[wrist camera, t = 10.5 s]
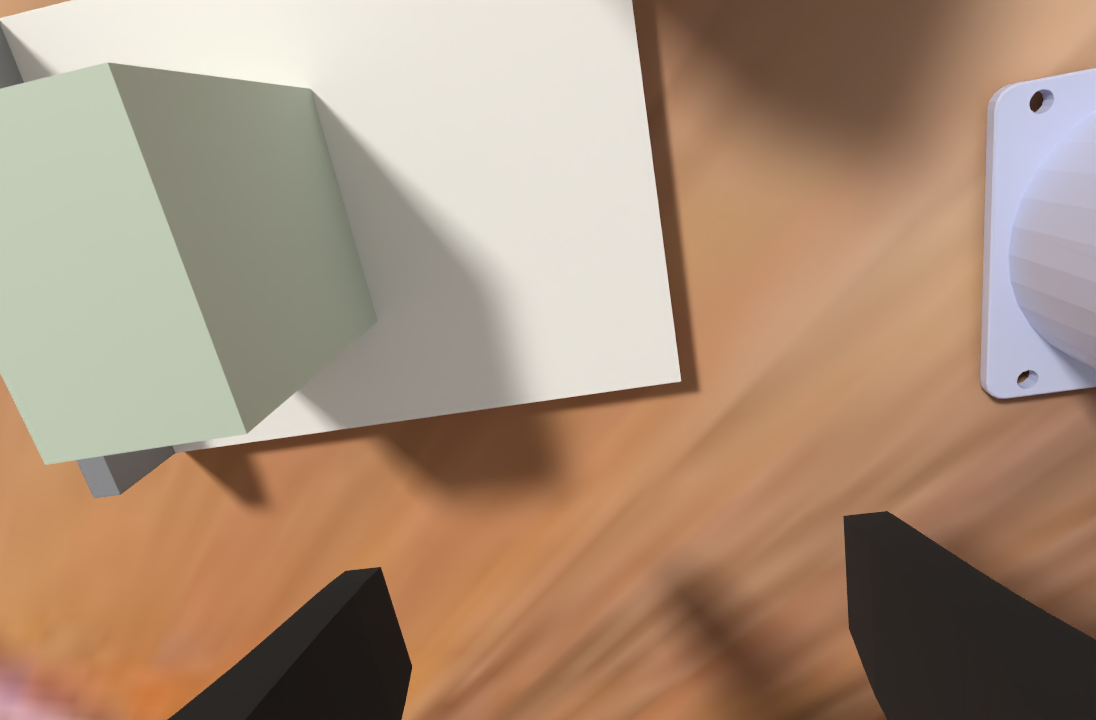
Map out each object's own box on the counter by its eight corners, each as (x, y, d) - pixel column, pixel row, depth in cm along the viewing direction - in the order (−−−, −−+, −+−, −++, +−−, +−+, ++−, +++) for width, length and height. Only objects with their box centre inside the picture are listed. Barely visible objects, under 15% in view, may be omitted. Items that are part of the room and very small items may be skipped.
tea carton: (310, 88, 16) (107, 62, 9) (377, 321, 18) (246, 433, 11) (147, 125, 17) (-149, 125, 10) (228, 347, 19) (24, 467, 12)
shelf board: (613, -120, 15) (616, -186, 12) (677, 368, 19) (692, 418, 16) (-9, 34, 17) (-149, 13, 14) (160, 443, 21) (80, 499, 18)
